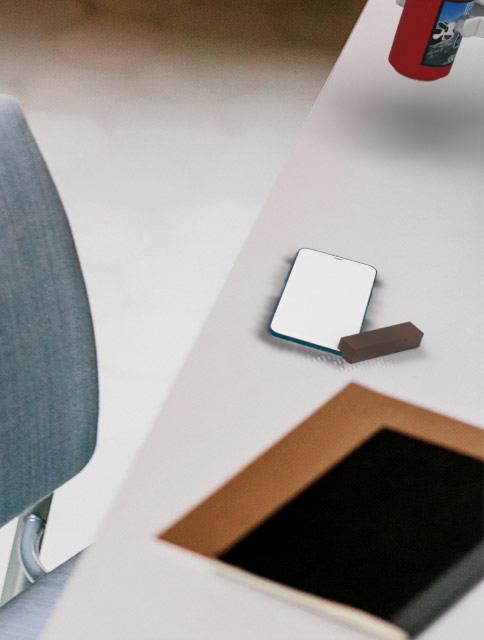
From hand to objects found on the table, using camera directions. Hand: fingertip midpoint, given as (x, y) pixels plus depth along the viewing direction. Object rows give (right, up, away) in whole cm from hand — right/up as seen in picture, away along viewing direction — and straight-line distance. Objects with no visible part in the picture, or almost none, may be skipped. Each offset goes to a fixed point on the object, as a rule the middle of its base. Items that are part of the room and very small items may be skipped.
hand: (431, 13), depth 124 cm
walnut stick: (-11, -37, -19) cm, 43 cm away
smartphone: (-15, -32, -13) cm, 38 cm away
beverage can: (0, -5, +5) cm, 7 cm away
